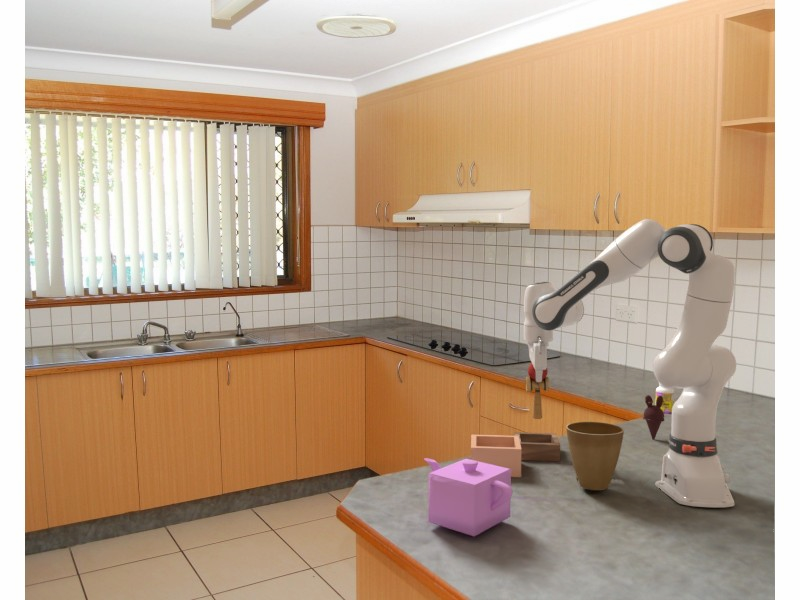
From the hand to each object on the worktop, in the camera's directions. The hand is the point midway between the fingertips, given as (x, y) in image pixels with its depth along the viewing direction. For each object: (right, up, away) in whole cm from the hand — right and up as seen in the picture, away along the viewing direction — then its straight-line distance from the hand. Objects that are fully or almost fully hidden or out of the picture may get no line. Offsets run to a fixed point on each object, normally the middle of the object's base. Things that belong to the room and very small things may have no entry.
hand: (537, 379), depth 219 cm
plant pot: (+10, -26, -27) cm, 39 cm away
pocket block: (0, -23, +2) cm, 23 cm away
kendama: (0, -12, +2) cm, 13 cm away
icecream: (+42, -22, +18) cm, 51 cm away
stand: (-15, -24, -13) cm, 31 cm away
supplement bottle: (+59, -20, +54) cm, 83 cm away
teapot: (-27, -28, -50) cm, 63 cm away
